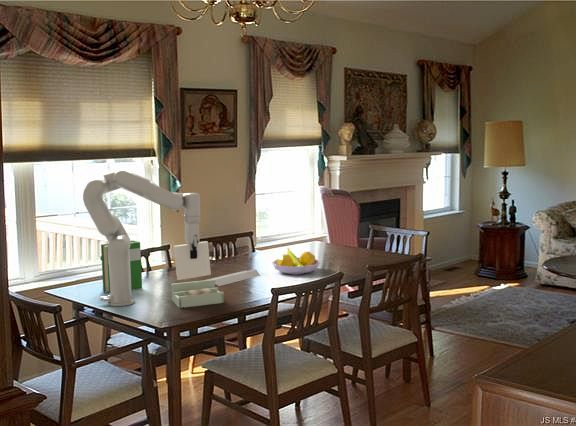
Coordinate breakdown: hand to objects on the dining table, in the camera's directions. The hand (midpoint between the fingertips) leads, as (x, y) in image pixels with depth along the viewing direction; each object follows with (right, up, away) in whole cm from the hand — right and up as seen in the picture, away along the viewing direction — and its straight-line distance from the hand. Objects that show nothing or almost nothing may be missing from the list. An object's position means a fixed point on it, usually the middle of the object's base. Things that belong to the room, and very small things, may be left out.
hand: (193, 257), depth 315 cm
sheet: (0, -9, +1) cm, 9 cm away
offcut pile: (+4, -21, -4) cm, 22 cm away
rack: (+2, -20, -2) cm, 21 cm away
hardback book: (-39, -18, +24) cm, 49 cm away
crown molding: (+15, -15, +45) cm, 50 cm away
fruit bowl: (+49, -12, +61) cm, 80 cm away
